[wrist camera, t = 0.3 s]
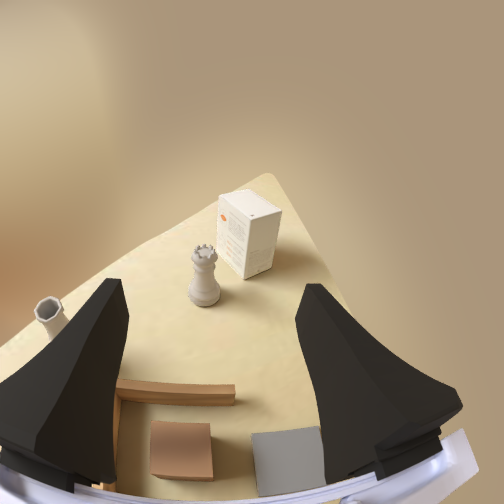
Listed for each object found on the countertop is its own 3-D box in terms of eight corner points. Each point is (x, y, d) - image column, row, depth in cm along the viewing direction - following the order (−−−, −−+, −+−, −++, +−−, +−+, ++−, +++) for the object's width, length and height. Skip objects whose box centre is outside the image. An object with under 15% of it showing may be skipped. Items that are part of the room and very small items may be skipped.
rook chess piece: (222, 286, 40) (225, 241, 35) (218, 310, 36) (220, 264, 32) (191, 282, 40) (190, 237, 35) (185, 306, 36) (181, 259, 31)
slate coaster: (328, 484, 19) (331, 484, 19) (258, 496, 18) (259, 496, 18) (316, 427, 25) (318, 425, 24) (250, 434, 24) (251, 433, 23)
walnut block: (213, 481, 19) (213, 477, 16) (160, 478, 18) (149, 473, 15) (210, 436, 23) (209, 423, 20) (160, 434, 22) (151, 420, 19)
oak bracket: (244, 519, 16) (249, 522, 14) (105, 508, 14) (92, 507, 12) (232, 397, 27) (234, 384, 25) (114, 390, 25) (104, 376, 23)
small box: (271, 269, 44) (284, 211, 38) (243, 281, 41) (251, 220, 35) (242, 242, 49) (249, 187, 43) (214, 251, 46) (218, 193, 40)
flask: (80, 329, 30) (54, 272, 24) (119, 358, 28) (94, 302, 22) (46, 366, 25) (7, 313, 19) (83, 401, 23) (42, 354, 17)
